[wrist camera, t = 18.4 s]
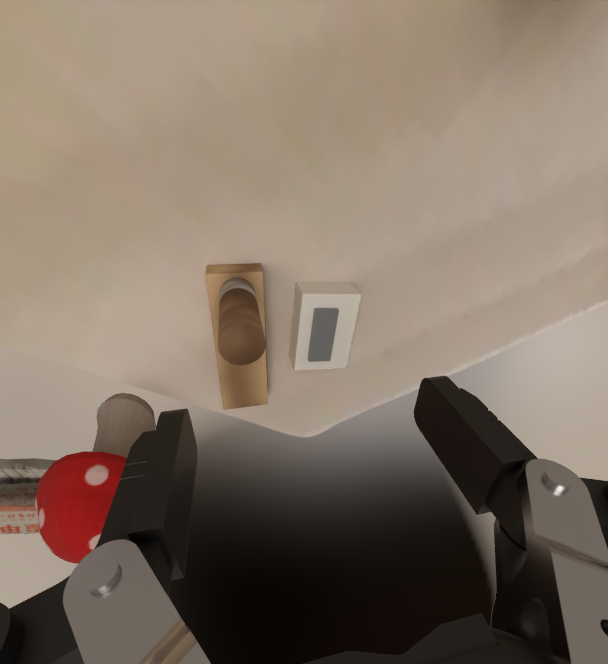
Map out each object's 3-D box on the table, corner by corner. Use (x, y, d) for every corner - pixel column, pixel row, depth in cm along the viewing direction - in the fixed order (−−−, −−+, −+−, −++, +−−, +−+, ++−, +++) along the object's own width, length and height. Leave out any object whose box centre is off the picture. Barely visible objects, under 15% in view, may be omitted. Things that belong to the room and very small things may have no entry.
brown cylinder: (254, 276, 28) (265, 323, 21) (255, 308, 30) (266, 362, 22) (217, 278, 28) (215, 327, 20) (221, 310, 29) (220, 367, 22)
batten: (260, 263, 30) (262, 271, 28) (265, 390, 38) (267, 404, 36) (207, 265, 29) (205, 274, 27) (223, 395, 37) (223, 409, 35)
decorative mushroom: (186, 427, 38) (167, 563, 26) (118, 451, 38) (66, 601, 25) (143, 368, 33) (93, 502, 21) (64, 395, 33) (-37, 549, 20)
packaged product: (110, 495, 35) (105, 544, 40) (122, 460, 40) (116, 508, 44) (-107, 496, 29) (-86, 554, 33) (-66, 453, 33) (-52, 510, 37)
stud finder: (349, 281, 34) (363, 296, 30) (336, 351, 38) (347, 371, 35) (295, 280, 32) (304, 296, 29) (288, 352, 37) (295, 373, 33)
